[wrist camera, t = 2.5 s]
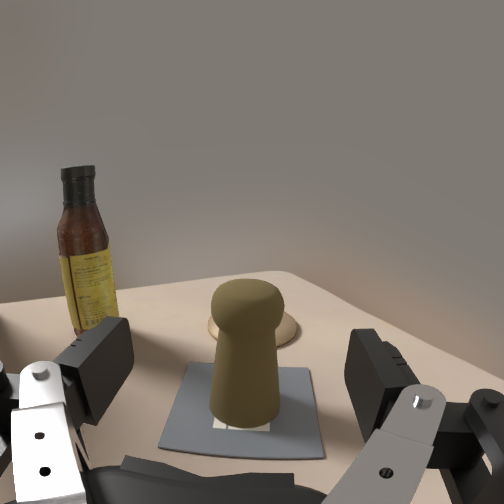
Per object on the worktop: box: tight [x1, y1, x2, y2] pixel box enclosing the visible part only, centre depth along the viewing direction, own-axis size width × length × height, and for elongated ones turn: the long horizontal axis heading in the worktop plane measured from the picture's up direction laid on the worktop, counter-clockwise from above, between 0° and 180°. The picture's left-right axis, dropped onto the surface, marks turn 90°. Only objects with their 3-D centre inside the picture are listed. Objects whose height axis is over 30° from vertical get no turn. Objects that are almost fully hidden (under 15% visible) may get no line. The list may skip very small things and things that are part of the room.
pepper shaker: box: [209, 279, 284, 428], centre depth 24 cm, size 6×6×11 cm
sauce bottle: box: [57, 165, 119, 337], centre depth 33 cm, size 7×6×20 cm
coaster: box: [208, 312, 297, 347], centre depth 40 cm, size 11×11×1 cm
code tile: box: [158, 362, 324, 459], centre depth 25 cm, size 12×12×1 cm
